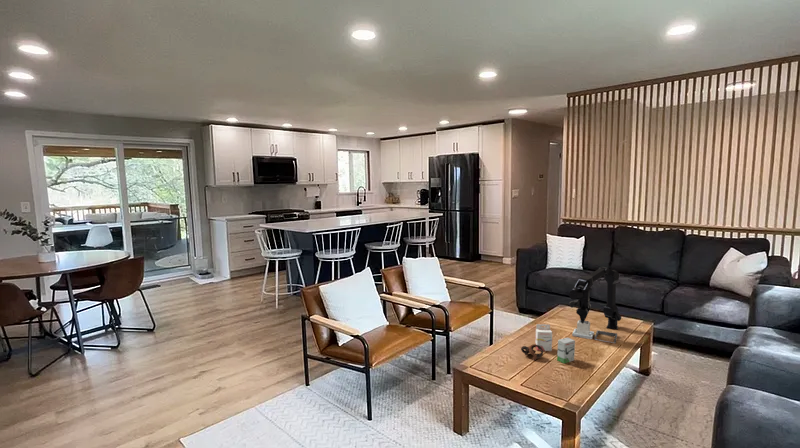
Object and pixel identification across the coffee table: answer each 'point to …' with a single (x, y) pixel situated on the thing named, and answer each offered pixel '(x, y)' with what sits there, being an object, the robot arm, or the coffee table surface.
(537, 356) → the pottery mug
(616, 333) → the grey flat square frame
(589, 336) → the tray
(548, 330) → the ink cartridge box
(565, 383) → the coffee table surface
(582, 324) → the cream box grey panel
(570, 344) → the ink box
